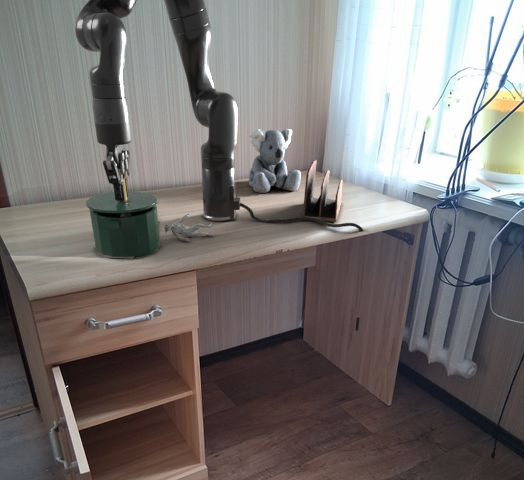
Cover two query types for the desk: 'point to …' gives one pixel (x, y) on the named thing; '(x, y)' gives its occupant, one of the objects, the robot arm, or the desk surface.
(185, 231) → the soldier figure
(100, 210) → the lid
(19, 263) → the desk surface
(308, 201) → the letter holder
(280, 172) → the koala plush
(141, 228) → the pot
